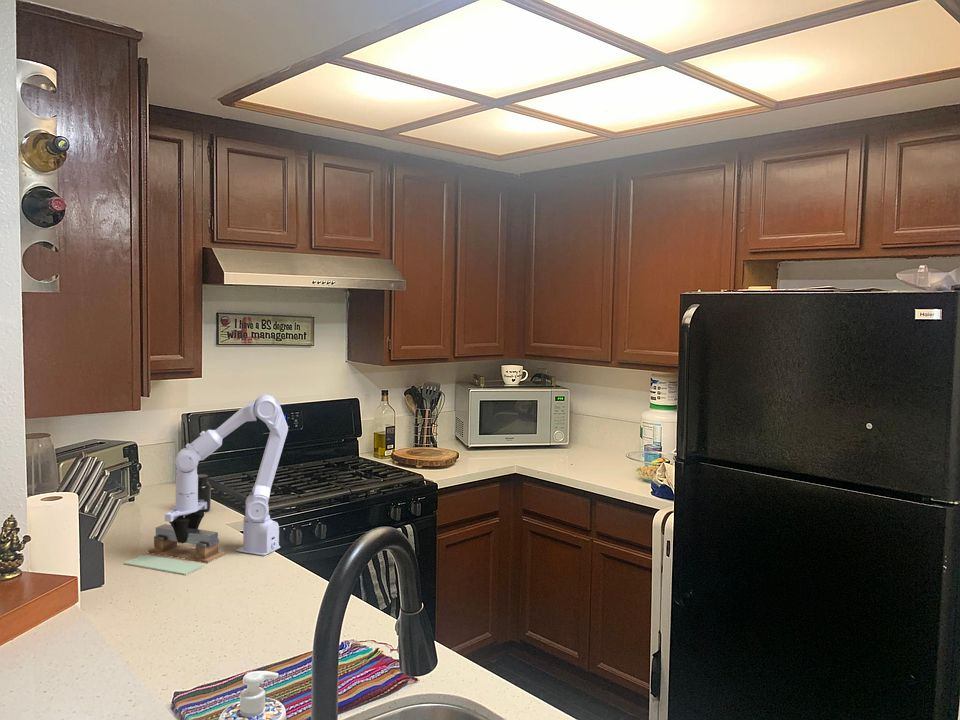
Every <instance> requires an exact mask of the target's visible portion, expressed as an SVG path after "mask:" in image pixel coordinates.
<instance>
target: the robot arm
mask: <svg viewBox="0 0 960 720" xmlns="http://www.w3.org/2000/svg"><path fill="white" fill-rule="evenodd" d="M257 418H258V419H259V420H261V421H262V422H263V423H265V425H266V426H267V428H268V430H269V435H268V437H267V442H266V444H265V449H264V452H263V456H262V458H261V459H262V460H261V462H260V465H259V469H258V473H257V476H256V479H255V483H254V484H253V487H252V490H251V491H250V493H249V495H248V496H247V497H246V499H245V510H244V511H245V516H243V525H242V528H243V529H242V531H243V533H242V540H243V541H242V546H241V547H239V548H237V549H236V552H239V553H246V554H251V555H252V554H253V555H257V556H267V555H268V554H271V553H272V552H274V551H276V550H278V549H280V548H281V546H280V525H279V523H278V521H275V520H272V519H271V515H270V514H269V513H270V512H269V511H270V508H269V500H270V497H271V496H270V495H271V489H272V486H273V483H274V480H275V476H276V472H277V470H278V466H279V462H280V459H281V455H282V453H283V449H284V444H285V442H286V439H287V436H288V432H289V427H288V423H287V421H286V418H285V415H284V412H283V410H282V407H281V404H280V403H279V401H277V400H276V398H275V397H274V396H273V395H272V394H264V393H263V394H260V395H259V396H257V398H256V399H253V400H251V401H250V402H248V403H247V404H245V405H243V406H241V408H240V409H239V410H237V411H236V412H235V413H233V415H232V416H230V417H229V418H228V419H226V420H225V421H224V422H223V423H222V424H220V426H218V427H217V428H215V429H207V430H202V431H201V432H200V433H199V436H198V437H197V438H196V439H194V440H193V441H192V442H191V443H186V445H185V447H184V448H182V449H181V450H179V451H178V453H177V455H176V457H175V459H174V463H175V467H176V470H175V473H176V475H175V505H174V506H172V510H170V511H169V512H167V513H165V514H164V522H169V525H172V527H173V529H174V532H175V535H176V538H177V544H178V543H179V544H186V543H185V541H186V532H187V528H193V529H199V526H200V524H201V522H202V520H203V518H204V517H205V513H204V512H200V510H202V509H207V502H203V501H201V502H198V466H199V462H200V461H204V460H205V459H206V458H208V457H209V456H211V455H212V454H213V453H214V452H216V451H217V450H218V449H219V448H221V447H222V445H223V439H224V438H226V437H227V436H228V435H230V434H231V433H233V432H234V431H235V430H236V429H238V428H239V427H240V426H242V425H243V424H244V423H246V422H257Z"/></svg>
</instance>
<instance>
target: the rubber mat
mask: <svg viewBox="0 0 960 720" xmlns="http://www.w3.org/2000/svg"><path fill="white" fill-rule="evenodd" d="M123 564H124V565H126V564H127V566H131V565H133V567H137V566H138V567H139V568H142V567H144V568H143V569H148V568H149V570H153V569H155V570H154V571H159V570H161V571H160V572H165V571H167V572H166V573H170V572H173V573H172V574H176V573H180V574H179V575H181V574H185V575H184V576H187V575H186V574H188V575H190V574H192V573H194V572H196V571H199V570H200V568H201V569H203V568H205V567H204V566H205V565H204V564H200V563H194V562H189V561H182V560H177V559H172V558H171V559H170V558H165V557H158V556H154V555H148V554H142V555H140V556H136V557H134V558H132V559H130V560H127V561H125V562H123ZM138 567H137V568H138ZM202 567H203V568H202ZM198 569H199V570H198ZM195 570H196V571H195ZM193 571H194V572H193ZM191 572H192V573H191ZM189 573H190V574H189Z"/></svg>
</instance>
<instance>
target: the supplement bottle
mask: <svg viewBox="0 0 960 720" xmlns="http://www.w3.org/2000/svg"><path fill="white" fill-rule="evenodd" d="M197 475H198V502H201V501H203V502H207V509H202V510H200V512H206V513H208V512H210V510H211V500H212V499H211V497H212V496H211V495H212V485H211V484H210V482H209V475H208V474H204V473H203V474H202V473H201V474H198V473H197Z"/></svg>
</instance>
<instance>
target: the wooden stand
mask: <svg viewBox="0 0 960 720" xmlns="http://www.w3.org/2000/svg"><path fill="white" fill-rule="evenodd" d="M219 542H220V540H219V538H218V543H217V544H214V545H212V546H210V547H208V546H206V544H202V543H196V544H195V547H192V546H191V547H189V546H185V545H179V544H178V542H177V541H171V540H165V539H164V537H159V536H156V535H154V536H153V548H151V549H148V550H147V553H148V552H149V553H148V554H152V553H154V554H153V555H158V554H160V556H164V555H167V556H166V557H169V556H173V557H172V558H175V557H179V558H178V559H181V558H185V559H184V560H187V559H190V560H189V561H193V560H194V562H198V561H201V562H200V563H204V562H206V564H209V563H211V562H213V561H215V560H217V558H218V559H219V557H220V558H222V557H224V556H225V555H226V553H225V552H221V551H220V549H219V548H220V547H219V546H220V545H219ZM223 555H224V556H223ZM221 556H222V557H221ZM214 559H215V560H214ZM212 560H213V561H212ZM210 561H211V562H210ZM208 562H209V563H208Z"/></svg>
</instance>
